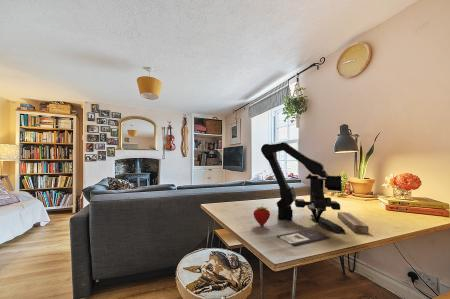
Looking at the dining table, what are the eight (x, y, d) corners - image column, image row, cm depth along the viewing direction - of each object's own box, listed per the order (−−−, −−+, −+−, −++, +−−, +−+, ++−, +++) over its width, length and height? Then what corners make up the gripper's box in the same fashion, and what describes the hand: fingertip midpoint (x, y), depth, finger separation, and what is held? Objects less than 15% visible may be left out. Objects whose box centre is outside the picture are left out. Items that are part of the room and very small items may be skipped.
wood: (352, 234, 84) (352, 227, 85) (336, 235, 84) (336, 227, 84) (320, 218, 106) (320, 212, 107) (307, 218, 105) (307, 212, 106)
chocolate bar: (329, 237, 79) (294, 244, 72) (329, 239, 79) (293, 247, 72) (311, 229, 88) (277, 235, 80) (311, 231, 88) (277, 237, 80)
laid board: (353, 232, 86) (353, 224, 86) (337, 217, 106) (337, 211, 106) (368, 233, 85) (368, 225, 85) (349, 218, 105) (349, 212, 105)
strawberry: (251, 224, 94) (251, 202, 94) (266, 223, 95) (266, 201, 96) (256, 228, 88) (256, 205, 88) (272, 227, 90) (272, 204, 90)
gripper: (298, 191, 90) (297, 227, 89) (345, 193, 86) (344, 230, 86) (294, 187, 101) (294, 219, 100) (336, 189, 97) (336, 222, 97)
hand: (316, 222), depth 95 cm, fingers closed
